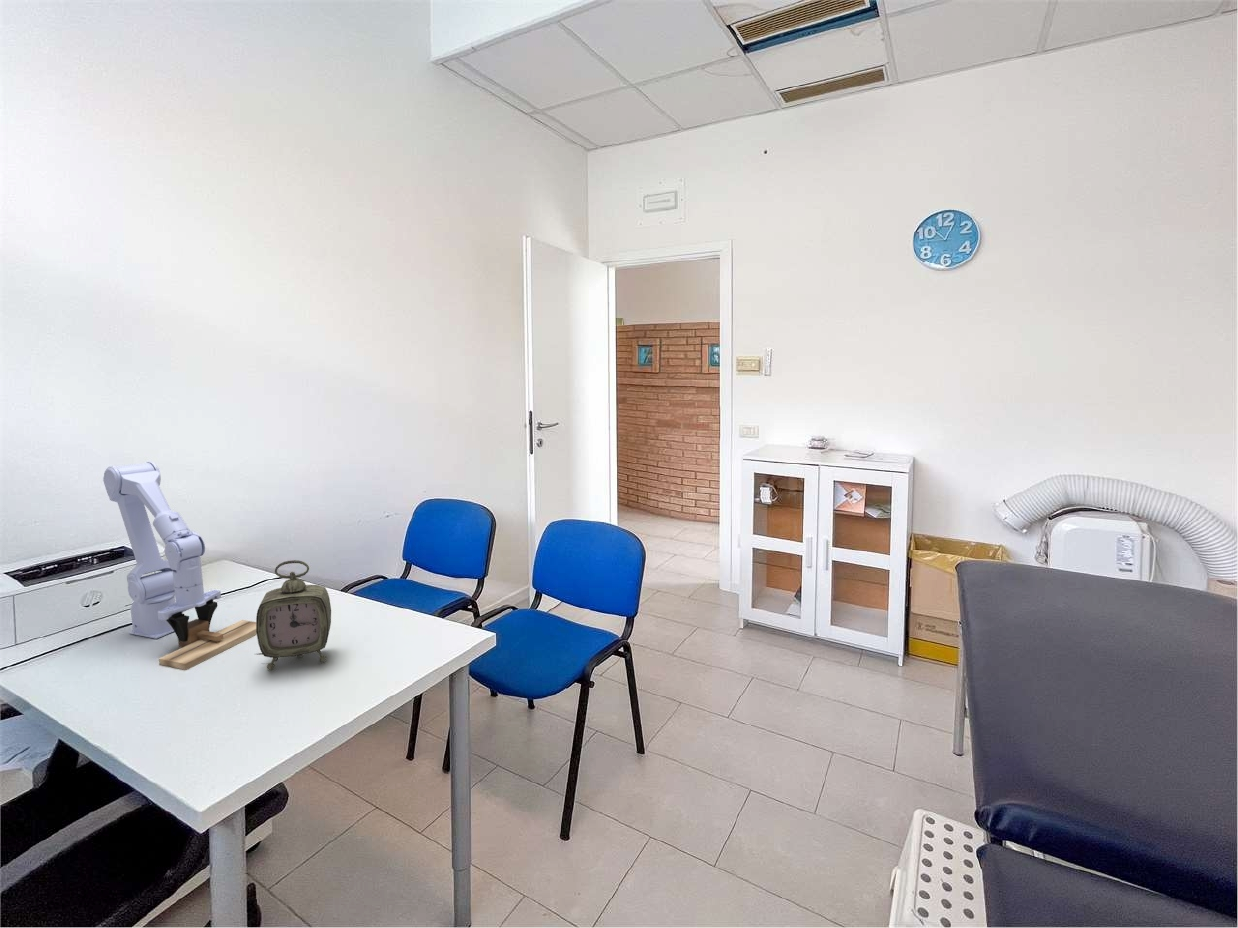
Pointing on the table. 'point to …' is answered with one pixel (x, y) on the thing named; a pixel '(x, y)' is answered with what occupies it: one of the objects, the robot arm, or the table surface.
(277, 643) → the tabletop clock
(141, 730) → the table surface
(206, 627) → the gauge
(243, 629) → the board
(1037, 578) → the table surface
